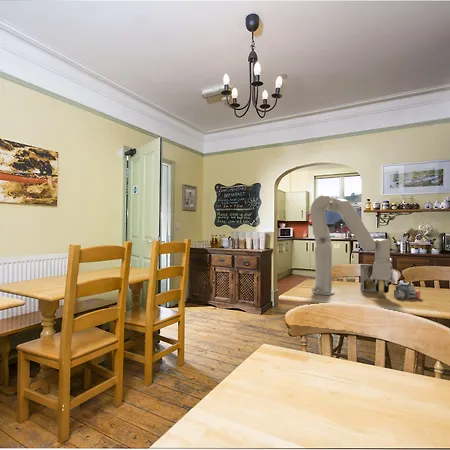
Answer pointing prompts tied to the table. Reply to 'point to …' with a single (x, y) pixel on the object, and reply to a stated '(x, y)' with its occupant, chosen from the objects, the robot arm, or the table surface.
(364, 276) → the coffee box
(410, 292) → the valve body
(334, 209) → the robot arm
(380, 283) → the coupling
